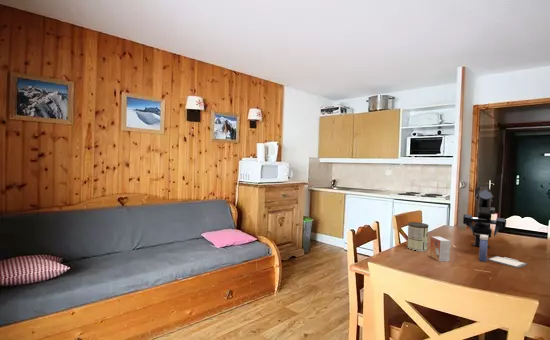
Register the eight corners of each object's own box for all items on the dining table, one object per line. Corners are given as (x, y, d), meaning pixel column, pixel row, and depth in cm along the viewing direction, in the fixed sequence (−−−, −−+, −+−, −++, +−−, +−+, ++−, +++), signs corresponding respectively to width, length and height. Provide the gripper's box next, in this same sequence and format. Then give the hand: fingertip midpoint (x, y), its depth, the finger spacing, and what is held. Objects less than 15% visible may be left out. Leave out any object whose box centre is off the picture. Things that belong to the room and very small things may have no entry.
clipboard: (496, 256, 158) (496, 254, 158) (527, 264, 147) (527, 262, 147) (487, 260, 153) (487, 257, 153) (518, 268, 142) (518, 266, 142)
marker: (480, 259, 154) (482, 234, 153) (488, 261, 151) (489, 235, 150) (477, 260, 152) (478, 234, 151) (484, 262, 149) (486, 236, 148)
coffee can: (406, 245, 175) (407, 221, 175) (425, 247, 172) (427, 223, 171) (407, 250, 165) (409, 224, 165) (428, 252, 162) (430, 226, 162)
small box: (429, 256, 156) (430, 236, 155) (439, 256, 156) (440, 236, 156) (439, 261, 148) (440, 240, 147) (449, 261, 148) (450, 240, 148)
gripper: (464, 199, 165) (463, 222, 156) (507, 203, 155) (508, 228, 146) (463, 212, 172) (462, 234, 163) (504, 216, 162) (505, 240, 153)
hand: (483, 234), depth 156 cm, fingers open, 9 cm apart
